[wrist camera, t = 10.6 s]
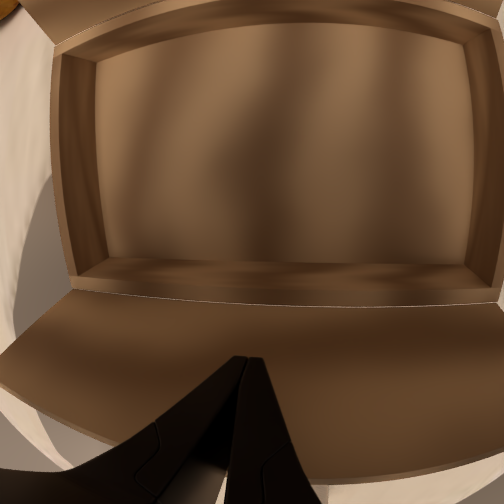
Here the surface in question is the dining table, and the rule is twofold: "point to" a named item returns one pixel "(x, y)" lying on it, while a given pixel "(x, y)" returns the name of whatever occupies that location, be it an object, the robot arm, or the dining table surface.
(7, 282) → the dining table surface
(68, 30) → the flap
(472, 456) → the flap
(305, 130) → the carton
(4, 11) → the potato
